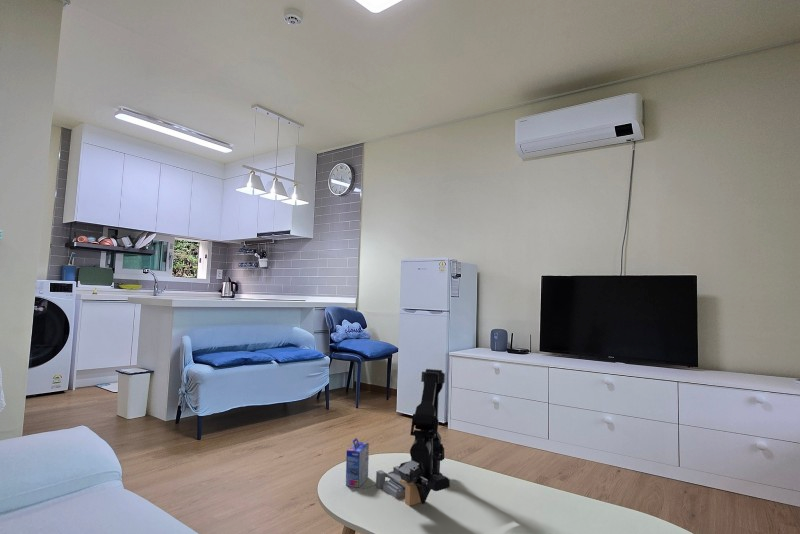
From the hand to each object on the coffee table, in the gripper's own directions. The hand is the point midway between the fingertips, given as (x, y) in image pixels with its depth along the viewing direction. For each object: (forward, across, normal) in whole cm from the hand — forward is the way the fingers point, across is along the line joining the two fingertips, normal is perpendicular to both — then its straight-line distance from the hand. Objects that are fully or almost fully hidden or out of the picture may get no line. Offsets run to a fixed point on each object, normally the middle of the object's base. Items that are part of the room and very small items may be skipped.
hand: (423, 503), depth 136 cm
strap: (-2, -13, 0) cm, 13 cm away
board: (+2, -10, 0) cm, 10 cm away
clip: (+1, -6, 0) cm, 6 cm away
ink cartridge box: (+1, -29, -7) cm, 30 cm away
